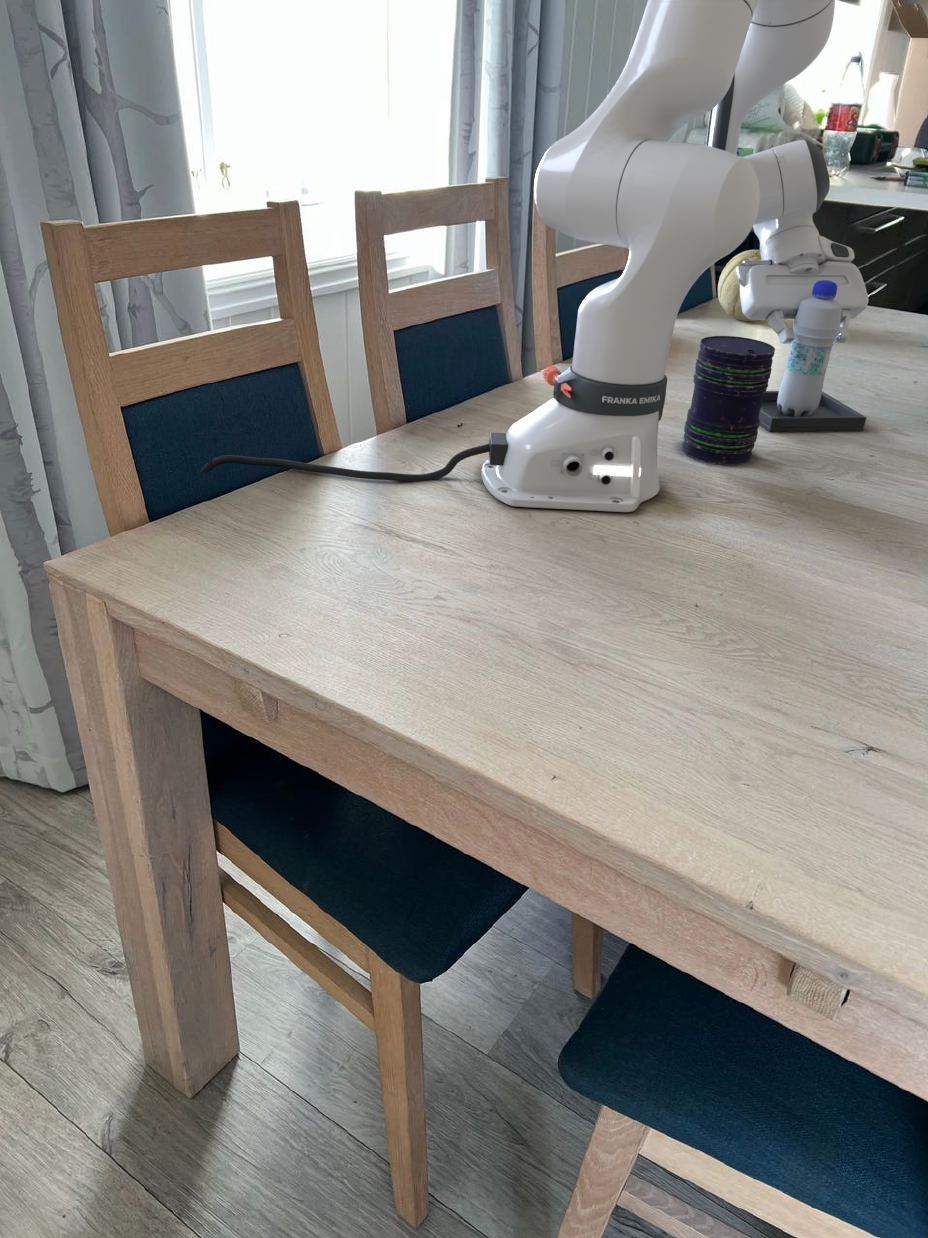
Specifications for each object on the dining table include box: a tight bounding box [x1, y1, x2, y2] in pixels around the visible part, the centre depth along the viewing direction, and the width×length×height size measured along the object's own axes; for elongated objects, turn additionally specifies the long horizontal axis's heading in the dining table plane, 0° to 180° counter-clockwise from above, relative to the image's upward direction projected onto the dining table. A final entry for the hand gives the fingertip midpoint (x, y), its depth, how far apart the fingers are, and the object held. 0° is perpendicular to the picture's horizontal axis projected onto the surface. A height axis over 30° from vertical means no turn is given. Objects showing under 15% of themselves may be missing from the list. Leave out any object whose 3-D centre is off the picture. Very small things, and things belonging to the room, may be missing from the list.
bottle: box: [777, 280, 842, 417], centre depth 143 cm, size 7×7×20 cm
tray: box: [759, 390, 867, 433], centre depth 147 cm, size 16×14×2 cm
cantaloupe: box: [717, 249, 762, 322], centre depth 204 cm, size 15×15×15 cm
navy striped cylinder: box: [681, 335, 776, 466], centre depth 128 cm, size 10×10×15 cm
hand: (815, 341), depth 141 cm, fingers open, 8 cm apart
